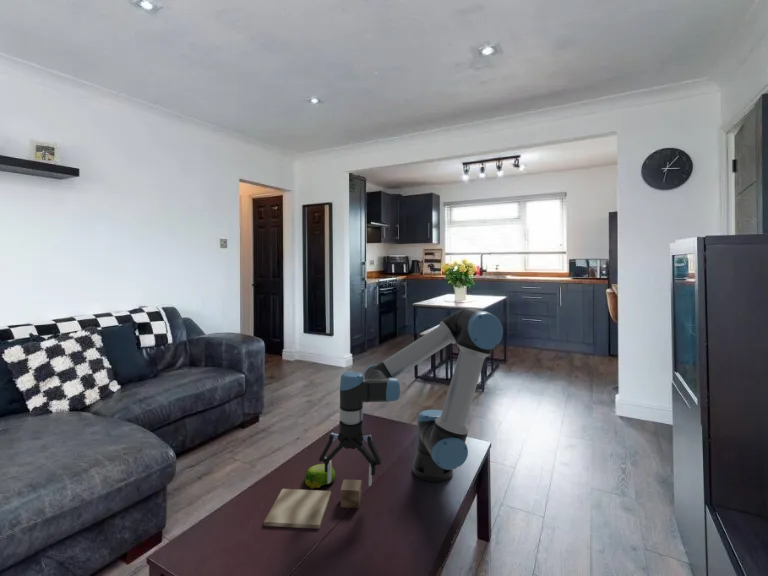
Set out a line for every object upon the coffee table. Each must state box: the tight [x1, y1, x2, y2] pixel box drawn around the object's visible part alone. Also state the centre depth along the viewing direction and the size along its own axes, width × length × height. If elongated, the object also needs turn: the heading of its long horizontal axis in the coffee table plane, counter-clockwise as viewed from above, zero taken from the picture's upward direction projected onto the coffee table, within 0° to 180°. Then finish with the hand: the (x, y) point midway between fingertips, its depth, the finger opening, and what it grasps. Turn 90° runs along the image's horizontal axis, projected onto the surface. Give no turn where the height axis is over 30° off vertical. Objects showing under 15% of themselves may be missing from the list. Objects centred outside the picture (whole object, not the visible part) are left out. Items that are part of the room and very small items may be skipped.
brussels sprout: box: [304, 463, 336, 490], centre depth 142 cm, size 12×11×5 cm
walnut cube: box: [340, 479, 362, 509], centre depth 129 cm, size 6×6×6 cm
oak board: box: [263, 488, 332, 530], centre depth 125 cm, size 17×17×1 cm
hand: (349, 482), depth 129 cm, fingers open, 13 cm apart
